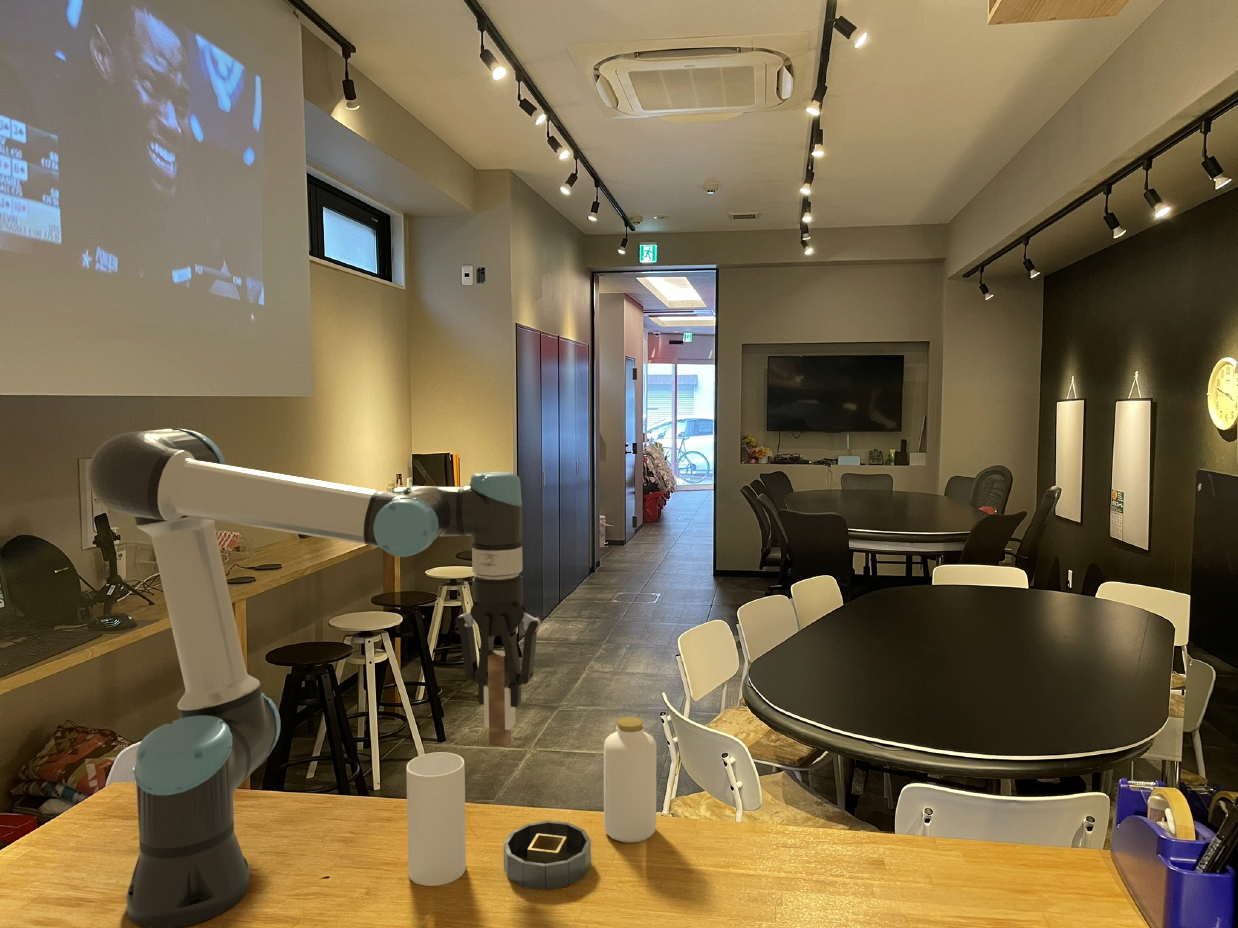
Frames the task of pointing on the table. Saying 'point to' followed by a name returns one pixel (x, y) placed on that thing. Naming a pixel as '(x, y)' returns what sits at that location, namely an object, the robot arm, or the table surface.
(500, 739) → the square wooden stick
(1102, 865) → the table surface
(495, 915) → the table surface
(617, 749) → the potion bottle
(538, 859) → the bowl
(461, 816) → the cup
